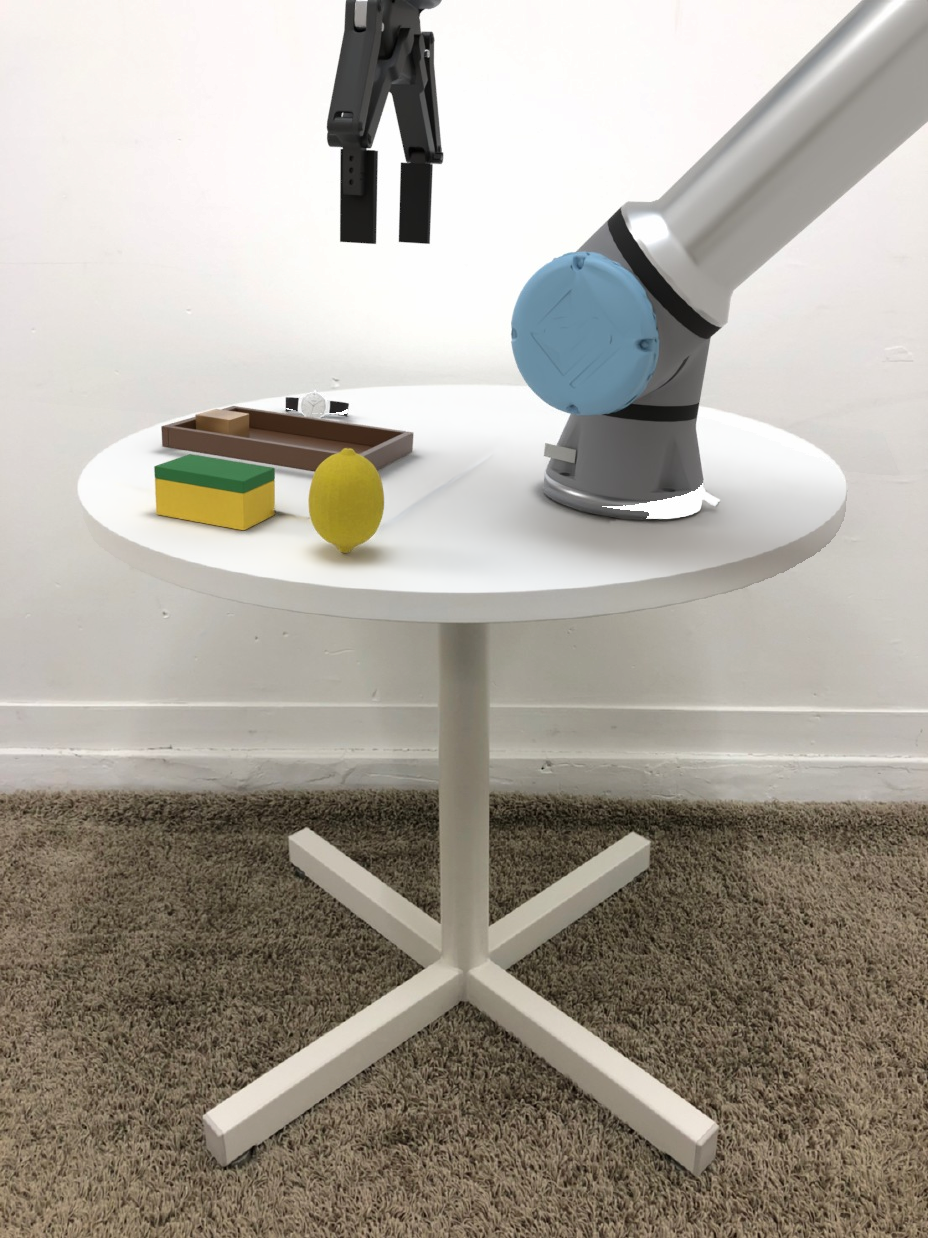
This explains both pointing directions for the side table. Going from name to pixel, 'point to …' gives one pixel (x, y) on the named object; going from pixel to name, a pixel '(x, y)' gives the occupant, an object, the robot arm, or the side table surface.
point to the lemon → (346, 500)
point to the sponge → (215, 491)
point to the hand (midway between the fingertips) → (388, 243)
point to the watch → (315, 405)
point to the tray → (291, 440)
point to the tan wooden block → (223, 422)
